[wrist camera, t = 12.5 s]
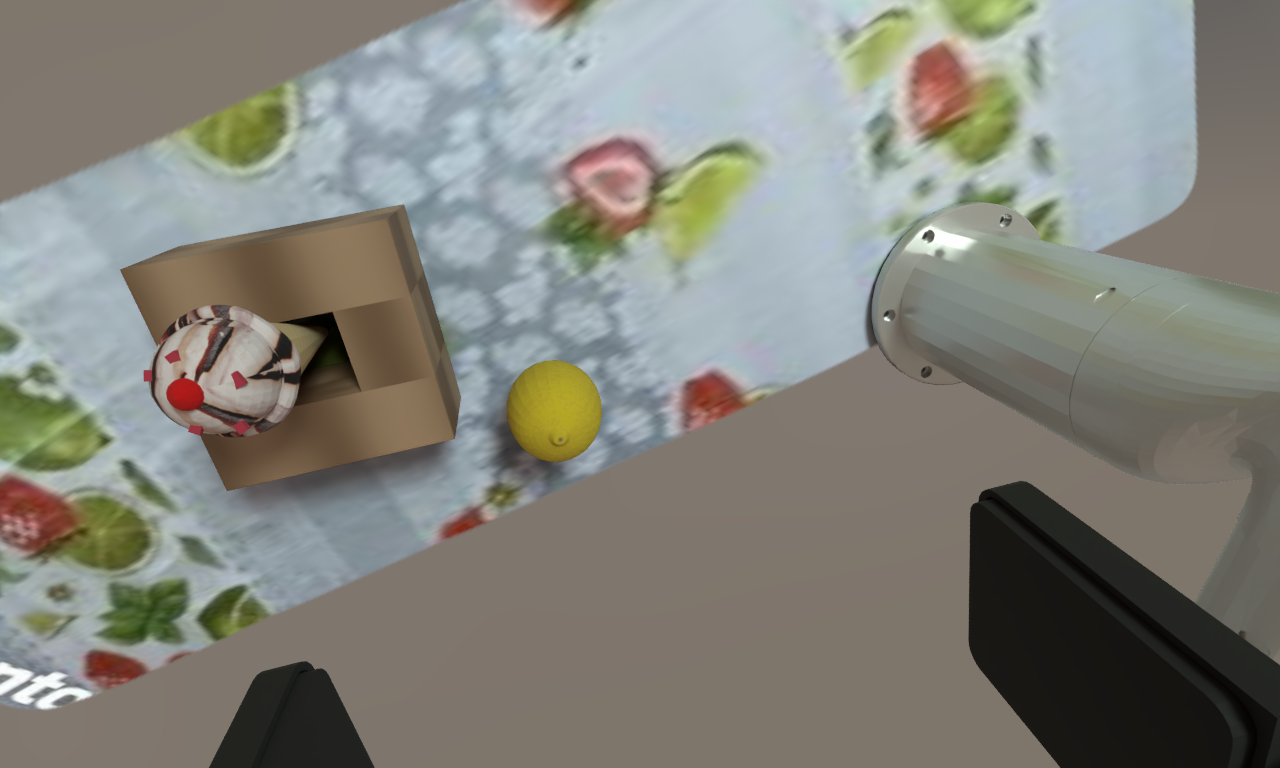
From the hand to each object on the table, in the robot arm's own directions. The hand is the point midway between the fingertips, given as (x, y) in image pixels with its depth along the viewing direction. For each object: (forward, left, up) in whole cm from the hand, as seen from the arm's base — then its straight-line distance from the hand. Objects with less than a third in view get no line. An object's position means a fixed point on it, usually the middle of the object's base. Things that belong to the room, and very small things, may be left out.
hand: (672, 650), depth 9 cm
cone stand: (+13, +2, -33) cm, 35 cm away
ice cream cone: (+13, +2, -33) cm, 35 cm away
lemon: (+1, +9, -33) cm, 34 cm away
